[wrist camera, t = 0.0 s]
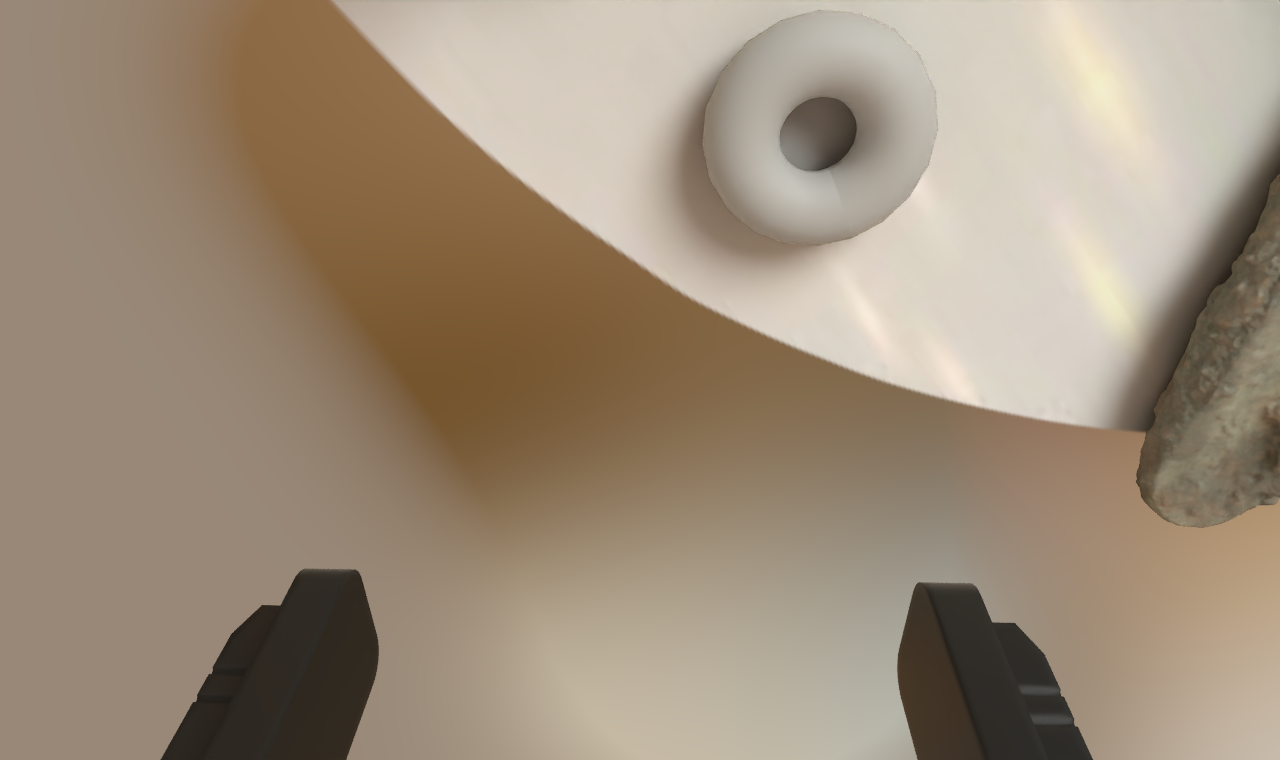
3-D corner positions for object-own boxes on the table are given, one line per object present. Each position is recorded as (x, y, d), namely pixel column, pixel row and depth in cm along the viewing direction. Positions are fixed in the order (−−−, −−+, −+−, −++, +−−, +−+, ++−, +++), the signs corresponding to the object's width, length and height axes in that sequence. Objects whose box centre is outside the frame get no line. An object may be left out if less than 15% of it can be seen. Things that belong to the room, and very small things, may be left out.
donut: (841, -52, 33) (654, 113, 37) (859, -45, 30) (654, 135, 34) (967, 135, 37) (787, 268, 41) (994, 158, 34) (796, 299, 38)
